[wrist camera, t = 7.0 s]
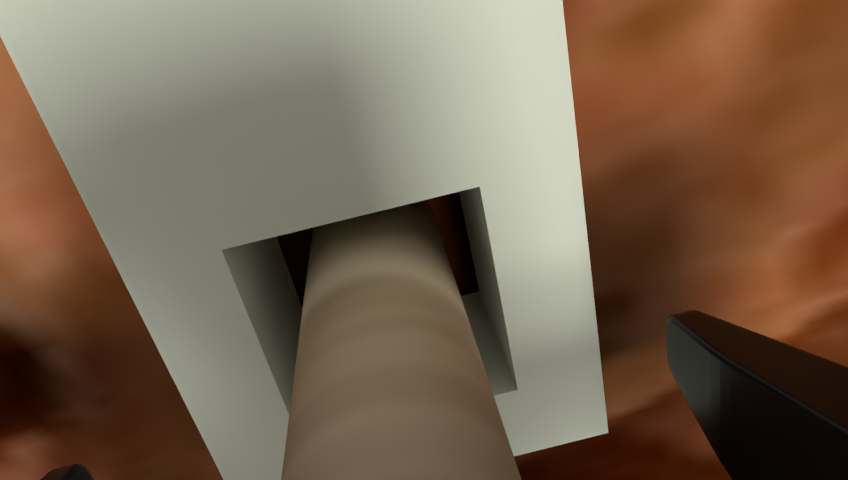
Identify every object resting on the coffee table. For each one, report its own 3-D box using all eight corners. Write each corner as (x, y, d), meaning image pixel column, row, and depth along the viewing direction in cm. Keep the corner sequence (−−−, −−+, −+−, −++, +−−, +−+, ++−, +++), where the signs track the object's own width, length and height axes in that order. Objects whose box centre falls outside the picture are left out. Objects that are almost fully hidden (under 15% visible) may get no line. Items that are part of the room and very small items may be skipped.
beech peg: (446, 270, 16) (582, 703, 7) (332, 298, 16) (311, 772, 7) (421, 161, 14) (549, 515, 5) (296, 191, 14) (209, 600, 5)
